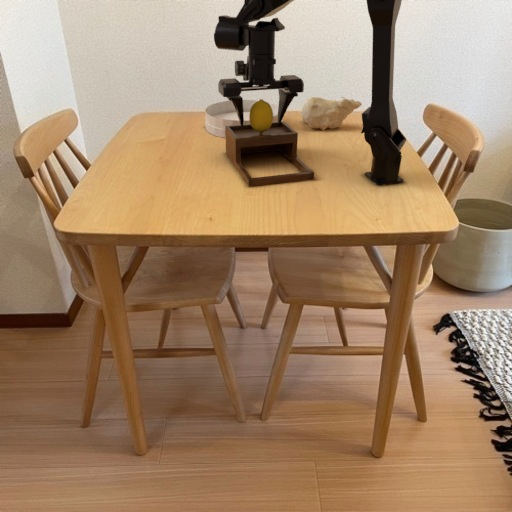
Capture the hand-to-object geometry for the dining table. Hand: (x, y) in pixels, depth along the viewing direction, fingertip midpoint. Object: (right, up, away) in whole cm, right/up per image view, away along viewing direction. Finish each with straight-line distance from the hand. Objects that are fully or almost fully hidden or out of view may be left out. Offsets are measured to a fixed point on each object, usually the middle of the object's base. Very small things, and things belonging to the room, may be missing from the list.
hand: (260, 123), depth 113 cm
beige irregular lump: (+20, +6, +26) cm, 34 cm away
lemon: (0, -2, +1) cm, 3 cm away
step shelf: (+1, -10, 0) cm, 10 cm away
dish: (-5, +6, +25) cm, 27 cm away
